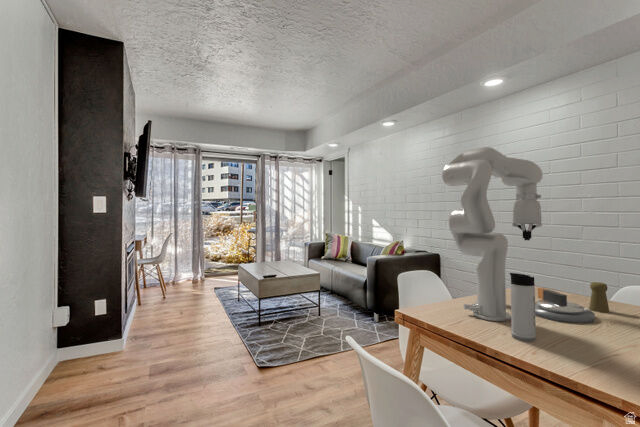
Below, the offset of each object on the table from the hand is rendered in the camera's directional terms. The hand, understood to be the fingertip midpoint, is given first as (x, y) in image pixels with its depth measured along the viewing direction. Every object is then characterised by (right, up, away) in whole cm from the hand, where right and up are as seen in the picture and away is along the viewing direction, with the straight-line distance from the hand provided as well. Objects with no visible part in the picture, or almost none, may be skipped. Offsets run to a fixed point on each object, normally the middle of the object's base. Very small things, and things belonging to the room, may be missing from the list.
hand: (527, 240), depth 136 cm
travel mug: (-27, -27, -39) cm, 55 cm away
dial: (+1, -25, -15) cm, 29 cm away
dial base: (+1, -27, -17) cm, 32 cm away
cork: (+20, -27, -12) cm, 36 cm away
